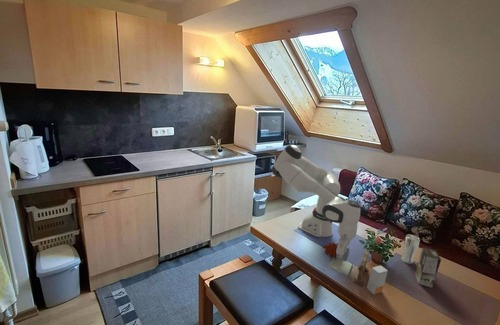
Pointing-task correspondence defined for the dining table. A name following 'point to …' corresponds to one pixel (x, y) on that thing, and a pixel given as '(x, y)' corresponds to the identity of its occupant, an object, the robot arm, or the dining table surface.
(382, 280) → the skincare box
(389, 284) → the dining table surface
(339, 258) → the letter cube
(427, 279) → the coffee box
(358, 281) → the brown flat upright piece
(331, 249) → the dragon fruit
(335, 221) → the robot arm
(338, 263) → the coaster
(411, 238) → the beer glass
